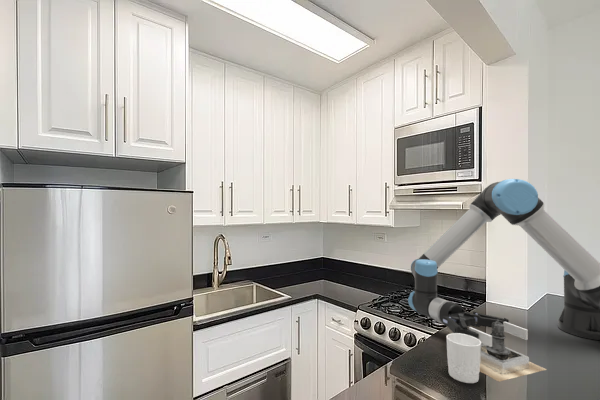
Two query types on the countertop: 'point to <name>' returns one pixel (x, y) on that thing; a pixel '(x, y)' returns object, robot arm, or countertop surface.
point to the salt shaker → (498, 342)
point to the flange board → (499, 377)
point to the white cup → (463, 357)
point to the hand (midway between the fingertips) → (509, 338)
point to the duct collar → (504, 361)
